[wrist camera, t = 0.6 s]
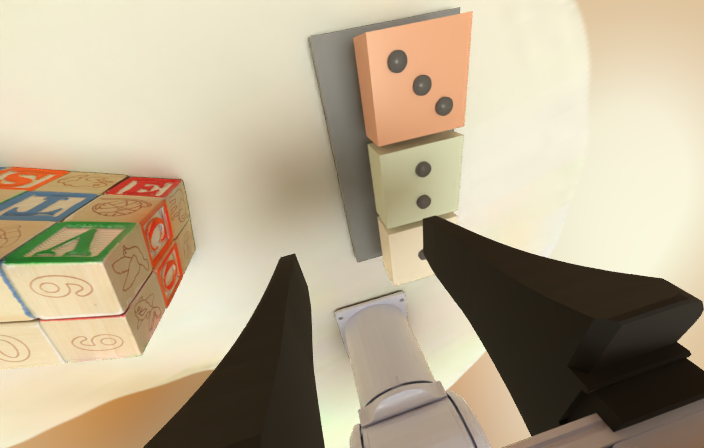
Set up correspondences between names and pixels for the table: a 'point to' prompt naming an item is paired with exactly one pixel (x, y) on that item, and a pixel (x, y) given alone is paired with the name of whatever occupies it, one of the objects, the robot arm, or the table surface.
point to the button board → (352, 127)
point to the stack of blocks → (86, 263)
